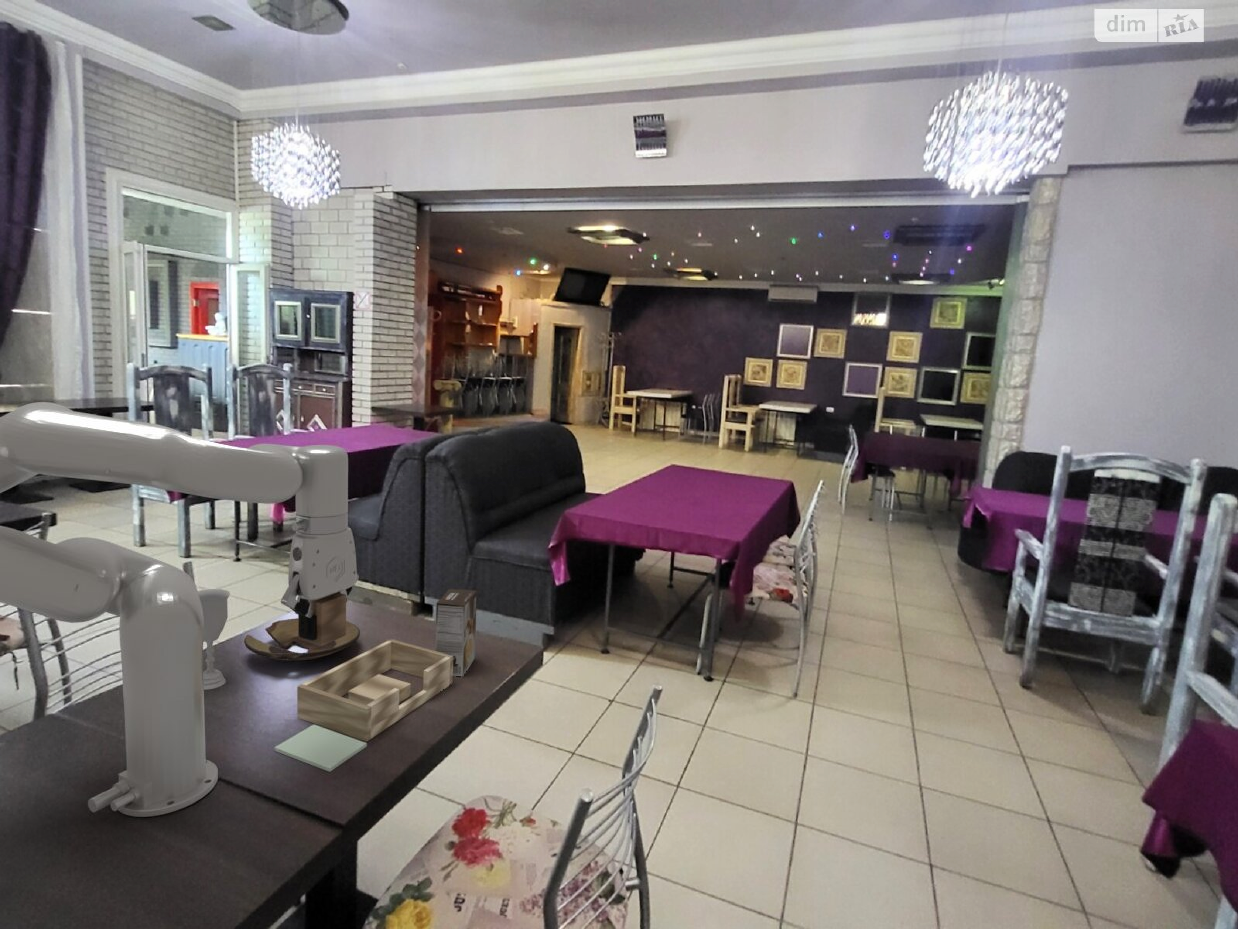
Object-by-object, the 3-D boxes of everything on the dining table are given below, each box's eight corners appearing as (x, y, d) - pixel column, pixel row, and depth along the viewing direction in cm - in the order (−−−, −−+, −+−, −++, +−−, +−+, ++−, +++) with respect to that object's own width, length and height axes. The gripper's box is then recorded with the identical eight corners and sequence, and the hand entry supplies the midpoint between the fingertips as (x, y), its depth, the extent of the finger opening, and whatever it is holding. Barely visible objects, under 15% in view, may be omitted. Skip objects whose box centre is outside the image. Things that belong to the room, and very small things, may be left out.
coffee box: (447, 656, 146) (449, 587, 144) (475, 659, 146) (478, 590, 144) (433, 675, 137) (435, 602, 135) (463, 678, 137) (466, 604, 134)
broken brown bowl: (216, 670, 133) (215, 634, 132) (313, 618, 162) (313, 588, 161) (312, 688, 129) (312, 651, 128) (394, 631, 158) (395, 600, 157)
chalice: (240, 677, 131) (238, 591, 128) (215, 693, 124) (213, 603, 121) (205, 673, 131) (203, 587, 129) (179, 689, 125) (177, 599, 122)
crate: (366, 741, 112) (366, 709, 111) (297, 717, 118) (297, 686, 117) (452, 683, 134) (453, 656, 133) (390, 665, 140) (391, 639, 139)
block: (321, 646, 103) (321, 604, 102) (298, 639, 105) (298, 597, 104) (345, 635, 108) (346, 594, 107) (323, 628, 110) (323, 588, 109)
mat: (329, 772, 103) (329, 768, 103) (274, 750, 108) (274, 747, 108) (366, 746, 111) (366, 743, 111) (313, 727, 115) (313, 724, 115)
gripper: (294, 538, 94) (295, 657, 97) (379, 516, 110) (377, 619, 113) (257, 530, 97) (259, 646, 100) (345, 510, 113) (344, 611, 116)
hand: (322, 631), depth 106 cm, fingers closed on block, 5 cm apart
